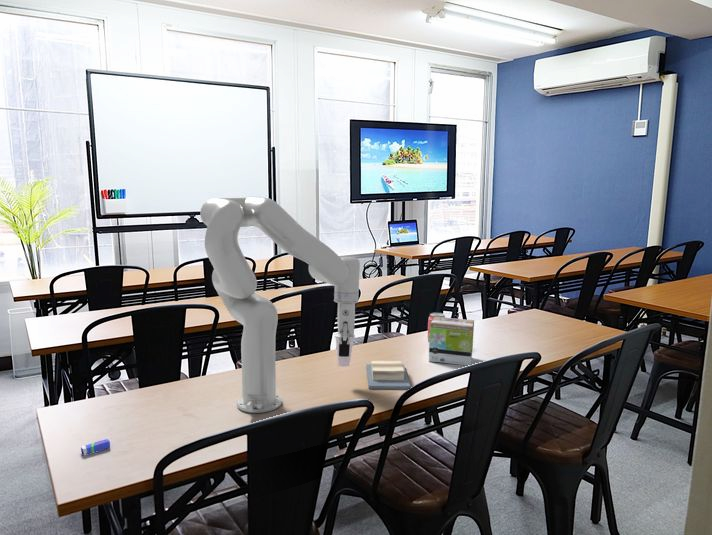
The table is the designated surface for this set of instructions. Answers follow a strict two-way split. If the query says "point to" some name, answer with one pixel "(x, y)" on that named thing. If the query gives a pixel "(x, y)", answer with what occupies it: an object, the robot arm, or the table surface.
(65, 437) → the table surface
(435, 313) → the soda can
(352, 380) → the table surface
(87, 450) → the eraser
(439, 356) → the tea box
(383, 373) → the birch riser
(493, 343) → the table surface
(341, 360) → the smoothie
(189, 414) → the table surface
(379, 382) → the board
